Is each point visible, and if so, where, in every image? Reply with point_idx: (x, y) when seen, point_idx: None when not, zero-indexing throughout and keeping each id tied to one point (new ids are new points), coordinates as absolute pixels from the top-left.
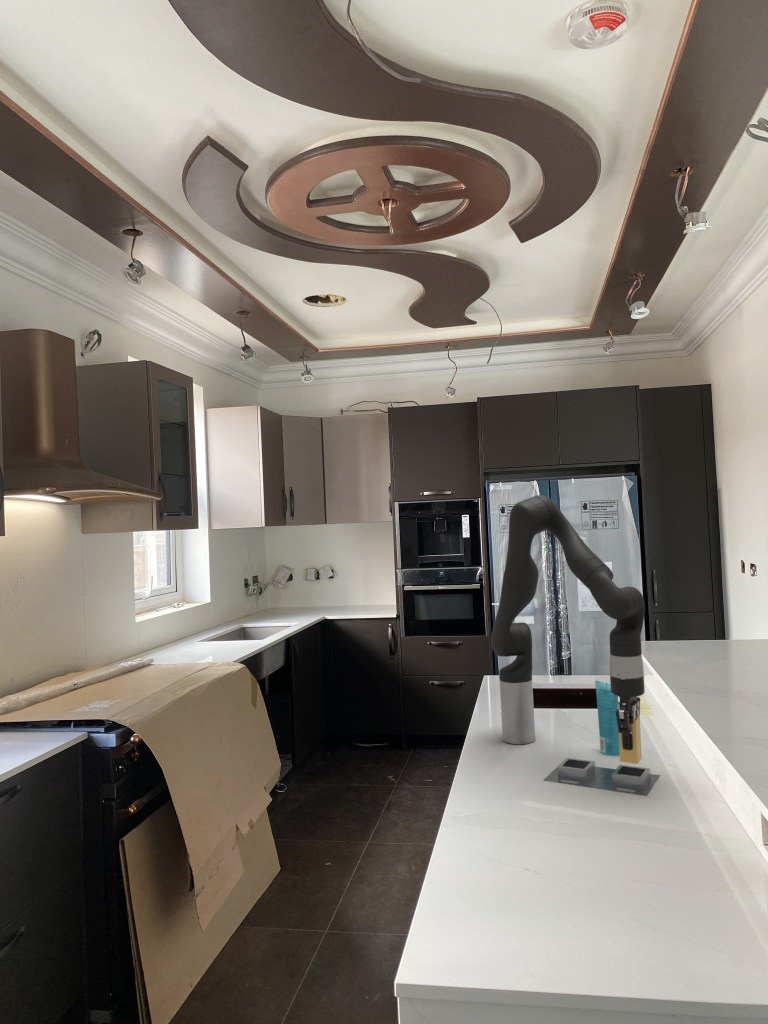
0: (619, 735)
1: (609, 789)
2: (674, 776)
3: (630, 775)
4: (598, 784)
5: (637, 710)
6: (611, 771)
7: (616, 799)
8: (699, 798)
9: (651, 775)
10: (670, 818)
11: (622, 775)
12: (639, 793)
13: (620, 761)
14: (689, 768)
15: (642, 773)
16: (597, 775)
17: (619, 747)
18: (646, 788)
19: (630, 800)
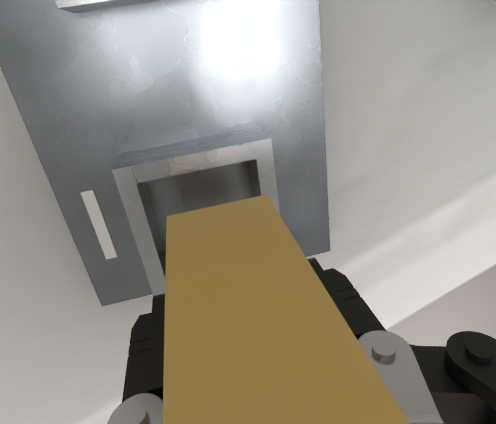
0: (167, 334)
1: (54, 168)
2: (371, 262)
3: (155, 245)
4: (76, 93)
5: None
6: (284, 68)
7: (27, 211)
8: None
9: (313, 229)
10: (18, 398)
11: (130, 218)
12: (105, 278)
13: (168, 218)
14: (457, 264)
15: None
16: (192, 28)
17: (167, 263)
18: None
19: (61, 254)
